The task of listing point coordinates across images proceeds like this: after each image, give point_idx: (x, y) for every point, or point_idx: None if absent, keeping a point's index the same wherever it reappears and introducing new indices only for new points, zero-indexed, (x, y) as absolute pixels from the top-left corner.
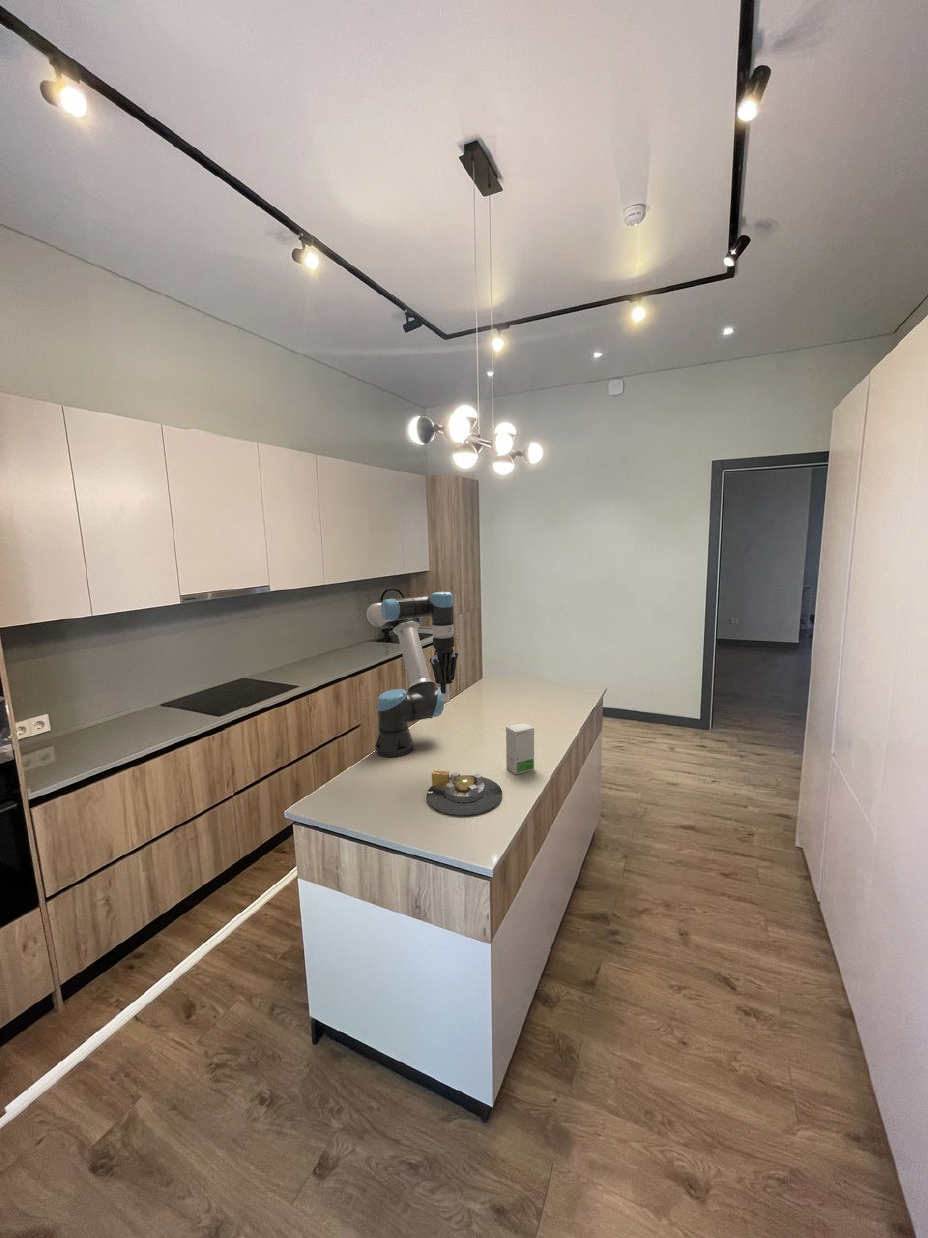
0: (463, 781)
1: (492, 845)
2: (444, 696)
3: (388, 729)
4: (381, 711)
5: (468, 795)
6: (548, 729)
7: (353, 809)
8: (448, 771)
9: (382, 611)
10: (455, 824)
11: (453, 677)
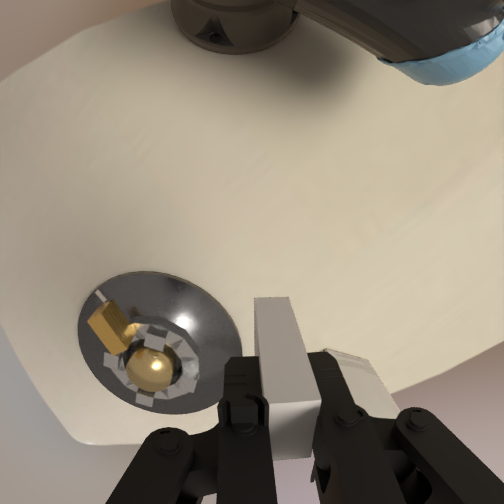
0: (141, 377)
1: (100, 437)
2: (256, 350)
3: None
4: None
5: (132, 389)
6: None
7: None
8: (126, 347)
9: None
10: (86, 384)
11: (399, 479)
